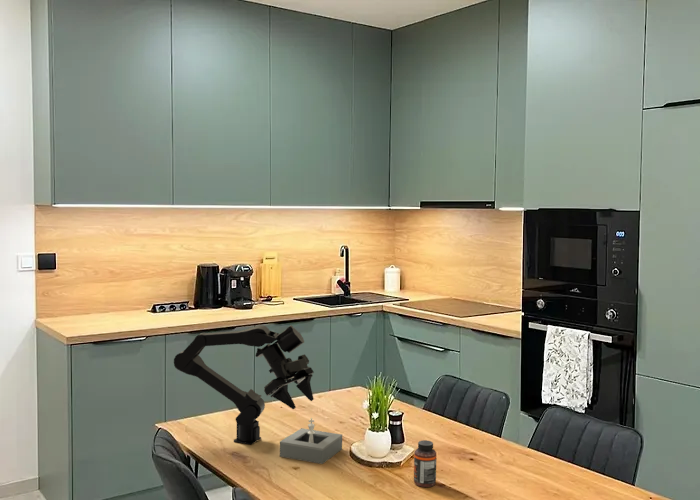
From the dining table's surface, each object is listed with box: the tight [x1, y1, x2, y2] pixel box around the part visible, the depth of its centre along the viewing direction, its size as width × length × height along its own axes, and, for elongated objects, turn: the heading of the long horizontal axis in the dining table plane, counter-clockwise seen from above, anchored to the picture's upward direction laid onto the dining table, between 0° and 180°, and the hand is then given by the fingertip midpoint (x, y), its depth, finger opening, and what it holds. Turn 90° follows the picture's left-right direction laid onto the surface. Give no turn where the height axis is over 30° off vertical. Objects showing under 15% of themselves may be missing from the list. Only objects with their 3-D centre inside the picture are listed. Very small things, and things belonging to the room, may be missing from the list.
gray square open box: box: [279, 428, 343, 465], centre depth 209 cm, size 14×14×4 cm
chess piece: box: [307, 417, 316, 443], centre depth 209 cm, size 5×5×10 cm
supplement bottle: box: [413, 439, 438, 488], centre depth 187 cm, size 6×6×11 cm
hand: (303, 404), depth 212 cm, fingers open, 9 cm apart
